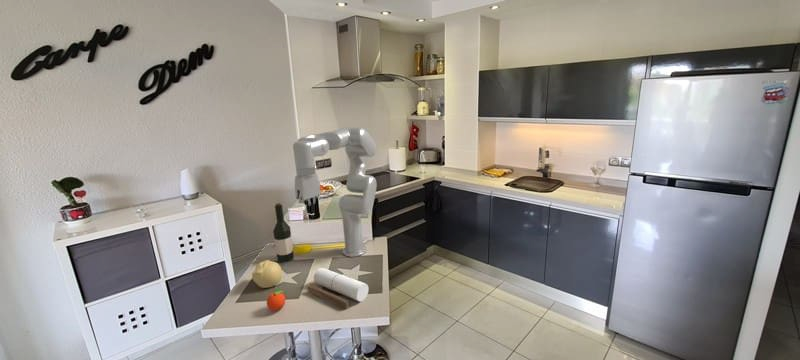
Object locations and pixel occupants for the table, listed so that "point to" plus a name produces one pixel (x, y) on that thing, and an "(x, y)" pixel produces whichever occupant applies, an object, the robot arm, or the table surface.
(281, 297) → the clementine
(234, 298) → the table surface
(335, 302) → the cradle rails
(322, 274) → the cylindrical container
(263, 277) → the pale yellow lumpy blob
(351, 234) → the robot arm
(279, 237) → the wine bottle
